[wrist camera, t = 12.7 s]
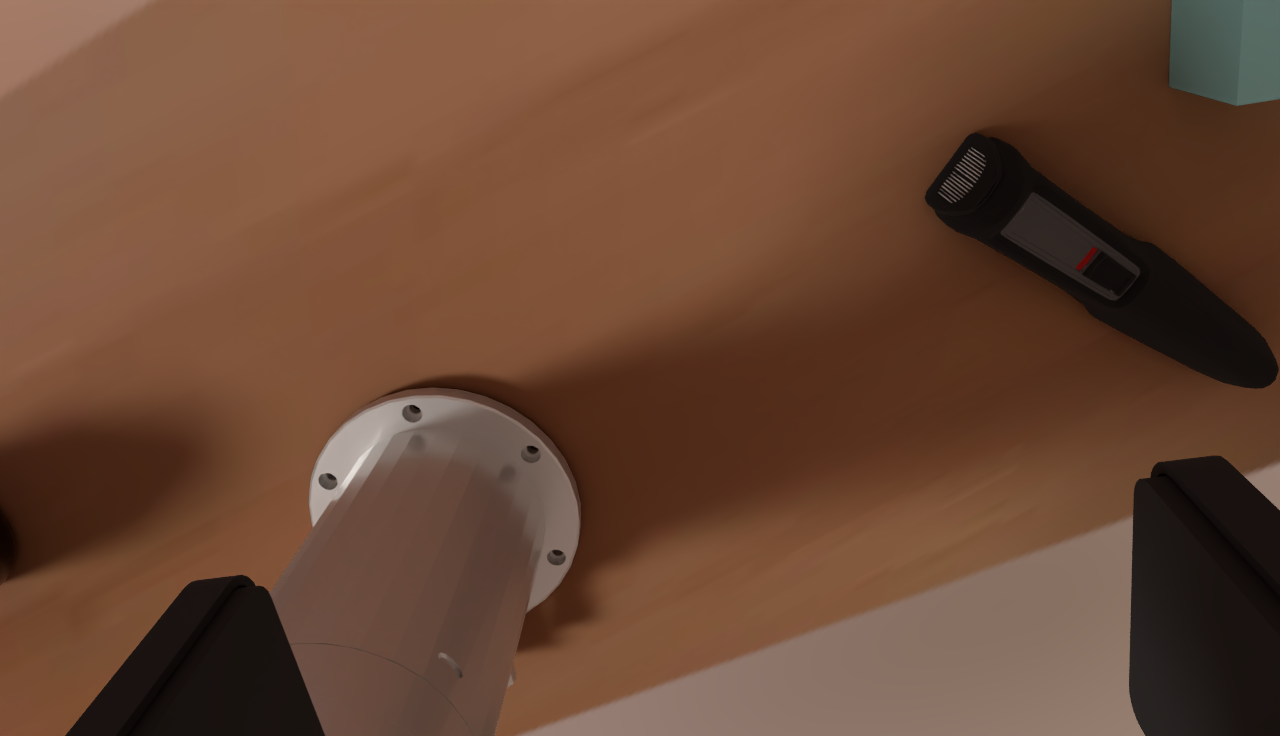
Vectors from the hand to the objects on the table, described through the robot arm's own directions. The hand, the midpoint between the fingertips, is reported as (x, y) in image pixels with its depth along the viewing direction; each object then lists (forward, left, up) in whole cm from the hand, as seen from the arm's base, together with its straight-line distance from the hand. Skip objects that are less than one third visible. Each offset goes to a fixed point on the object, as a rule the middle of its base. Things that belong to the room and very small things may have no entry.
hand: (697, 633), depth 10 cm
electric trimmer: (-7, -15, -31) cm, 35 cm away
